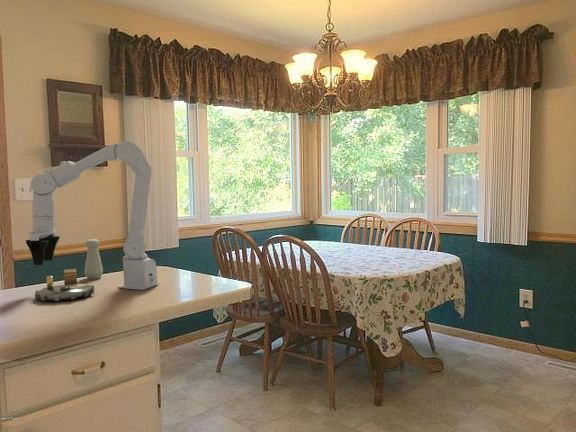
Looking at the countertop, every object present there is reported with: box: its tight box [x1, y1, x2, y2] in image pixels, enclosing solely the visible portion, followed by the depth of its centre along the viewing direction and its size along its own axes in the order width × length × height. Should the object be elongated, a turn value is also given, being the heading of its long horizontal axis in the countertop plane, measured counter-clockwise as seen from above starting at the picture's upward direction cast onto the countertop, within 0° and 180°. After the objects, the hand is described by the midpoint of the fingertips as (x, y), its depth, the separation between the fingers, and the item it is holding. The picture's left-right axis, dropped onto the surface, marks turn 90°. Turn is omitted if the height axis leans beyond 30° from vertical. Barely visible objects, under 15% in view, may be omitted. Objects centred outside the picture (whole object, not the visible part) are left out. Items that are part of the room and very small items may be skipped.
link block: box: [63, 268, 78, 285], centre depth 152 cm, size 5×4×5 cm
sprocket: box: [34, 275, 95, 302], centre depth 138 cm, size 15×15×5 cm
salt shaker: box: [83, 238, 104, 280], centre depth 163 cm, size 6×6×13 cm
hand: (43, 262), depth 143 cm, fingers open, 7 cm apart
